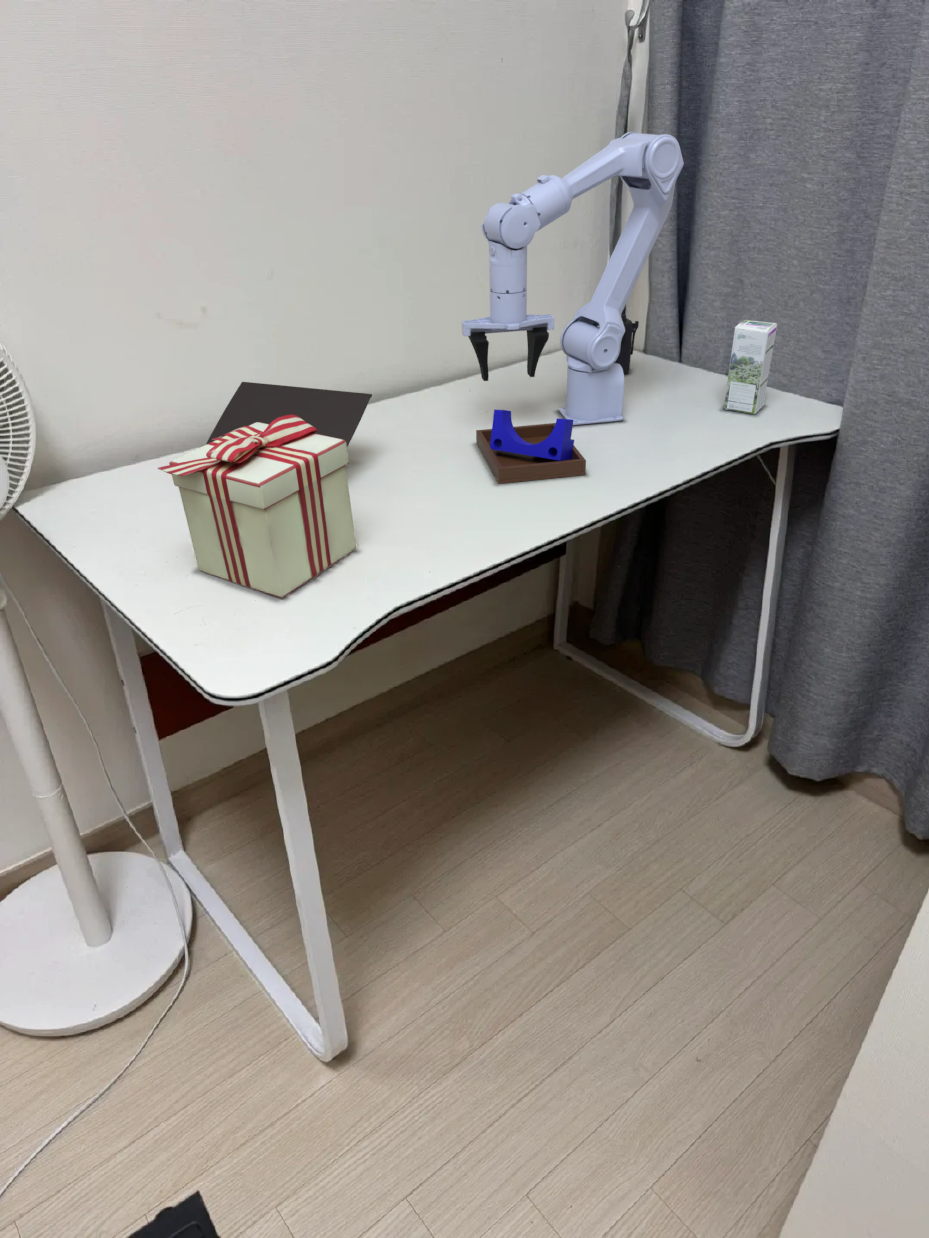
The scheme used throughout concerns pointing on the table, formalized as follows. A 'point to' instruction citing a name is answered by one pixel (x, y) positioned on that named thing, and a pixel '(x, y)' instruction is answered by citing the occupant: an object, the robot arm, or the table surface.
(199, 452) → the gift box
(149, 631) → the table surface
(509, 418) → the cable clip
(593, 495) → the table surface
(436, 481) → the table surface
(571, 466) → the tray
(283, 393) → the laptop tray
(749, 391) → the syrup box
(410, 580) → the table surface
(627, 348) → the two-way radio
